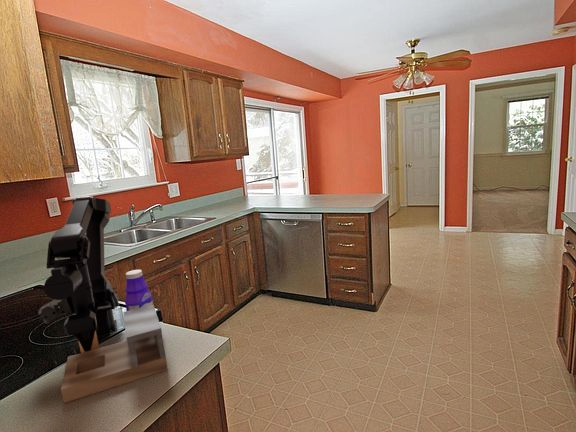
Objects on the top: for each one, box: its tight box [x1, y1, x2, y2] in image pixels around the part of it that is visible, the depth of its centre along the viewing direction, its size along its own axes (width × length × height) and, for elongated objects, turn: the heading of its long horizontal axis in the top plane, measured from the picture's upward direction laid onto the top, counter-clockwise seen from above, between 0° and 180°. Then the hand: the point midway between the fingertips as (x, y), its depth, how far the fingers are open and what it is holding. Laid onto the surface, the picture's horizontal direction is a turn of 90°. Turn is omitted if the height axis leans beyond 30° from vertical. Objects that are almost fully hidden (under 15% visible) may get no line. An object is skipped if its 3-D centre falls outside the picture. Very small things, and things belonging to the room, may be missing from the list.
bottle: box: [124, 269, 154, 311], centre depth 98 cm, size 7×6×17 cm
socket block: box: [60, 304, 169, 404], centre depth 81 cm, size 15×20×10 cm
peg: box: [77, 330, 100, 353], centre depth 89 cm, size 4×4×8 cm
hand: (88, 343), depth 90 cm, fingers open, 9 cm apart
